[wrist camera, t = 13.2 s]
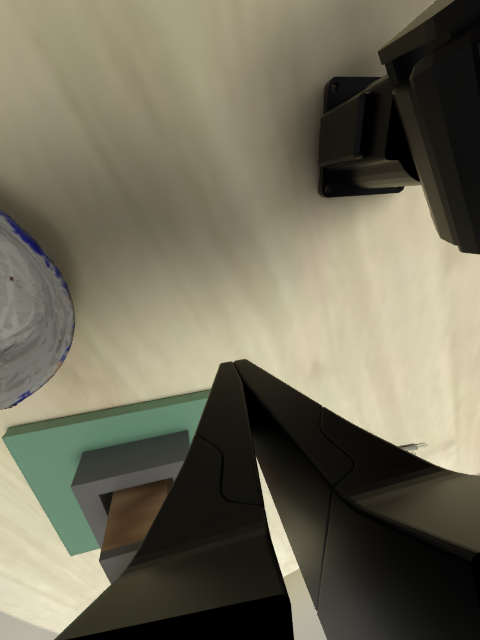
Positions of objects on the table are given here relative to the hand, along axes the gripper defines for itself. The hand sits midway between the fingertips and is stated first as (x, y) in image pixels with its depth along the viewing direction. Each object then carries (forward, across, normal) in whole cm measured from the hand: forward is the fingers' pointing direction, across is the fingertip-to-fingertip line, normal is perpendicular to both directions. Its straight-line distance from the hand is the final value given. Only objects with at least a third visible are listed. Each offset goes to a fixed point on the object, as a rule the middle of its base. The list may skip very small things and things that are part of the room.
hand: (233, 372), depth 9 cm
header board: (+12, +7, +18) cm, 23 cm away
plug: (+11, +7, +18) cm, 22 cm away
